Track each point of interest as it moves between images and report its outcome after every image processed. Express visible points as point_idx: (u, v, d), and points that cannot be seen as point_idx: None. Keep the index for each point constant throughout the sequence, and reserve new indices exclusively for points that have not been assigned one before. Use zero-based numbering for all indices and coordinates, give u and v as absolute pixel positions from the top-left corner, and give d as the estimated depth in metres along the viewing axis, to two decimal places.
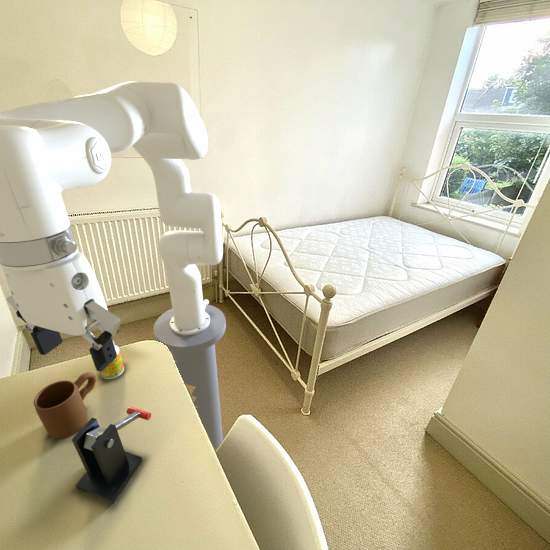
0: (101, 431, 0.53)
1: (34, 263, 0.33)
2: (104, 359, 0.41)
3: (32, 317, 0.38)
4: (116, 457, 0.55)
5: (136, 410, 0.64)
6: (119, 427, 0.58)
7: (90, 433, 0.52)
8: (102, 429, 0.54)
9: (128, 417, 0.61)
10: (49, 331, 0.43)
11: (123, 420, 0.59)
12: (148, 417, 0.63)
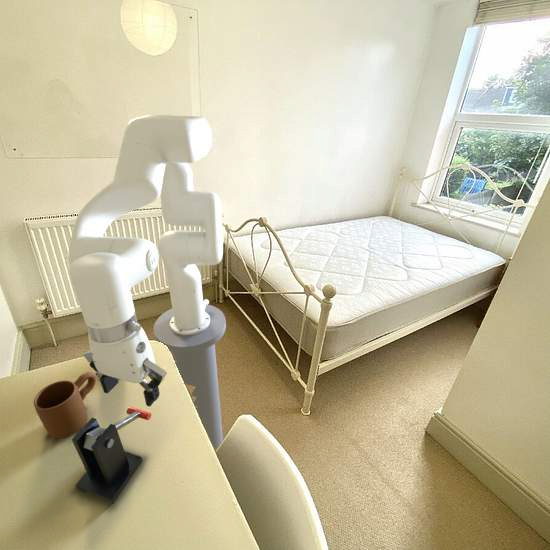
0: (101, 431, 0.53)
1: (115, 340, 0.50)
2: (152, 398, 0.57)
3: (104, 370, 0.55)
4: (116, 457, 0.55)
5: (136, 410, 0.64)
6: (119, 427, 0.58)
7: (90, 433, 0.52)
8: (102, 429, 0.54)
9: (128, 417, 0.61)
10: (111, 376, 0.60)
11: (123, 420, 0.59)
12: (148, 417, 0.63)
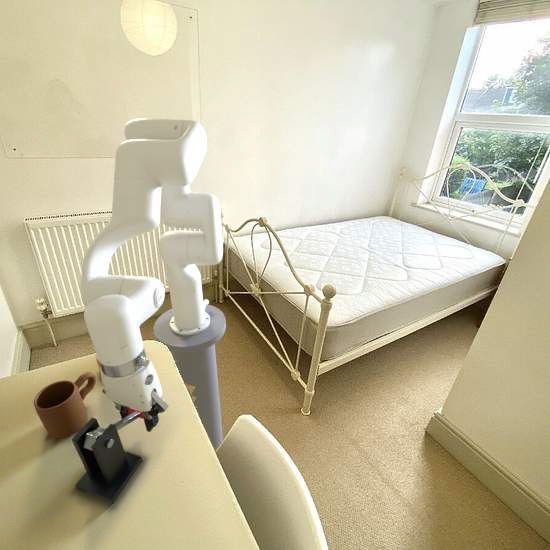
0: (101, 431, 0.53)
1: (125, 375, 0.54)
2: (152, 424, 0.63)
3: (115, 399, 0.59)
4: (116, 457, 0.55)
5: (136, 410, 0.64)
6: (119, 427, 0.58)
7: (90, 433, 0.52)
8: (102, 429, 0.54)
9: (128, 417, 0.61)
10: None
11: (123, 420, 0.59)
12: None
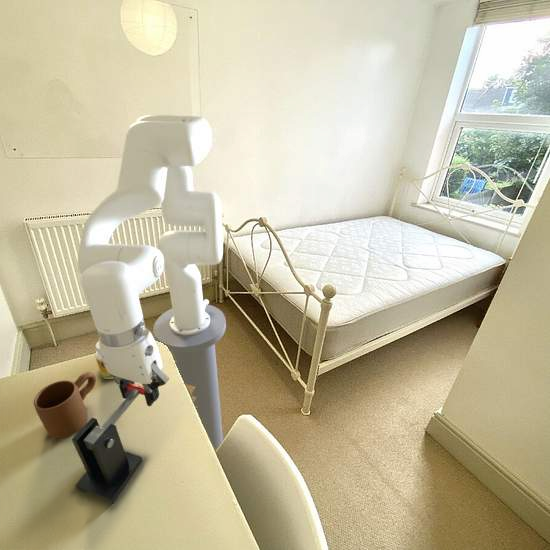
0: (98, 433, 0.53)
1: (124, 344, 0.52)
2: (153, 398, 0.61)
3: (114, 371, 0.58)
4: (116, 457, 0.55)
5: (135, 388, 0.62)
6: (119, 416, 0.57)
7: (87, 438, 0.52)
8: (99, 429, 0.53)
9: (127, 400, 0.59)
10: (129, 382, 0.63)
11: (122, 406, 0.58)
12: None
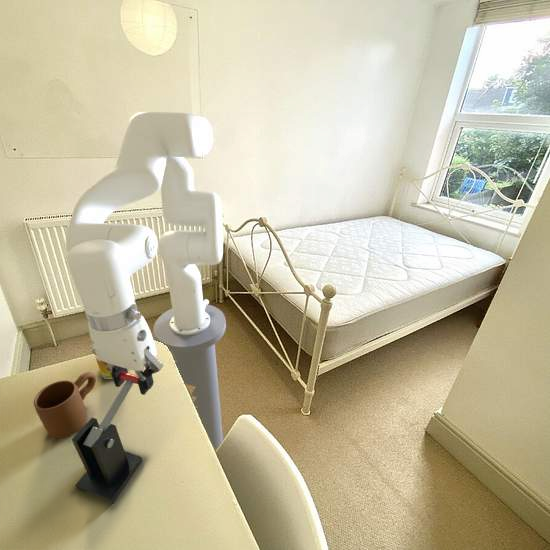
0: (96, 435, 0.52)
1: (115, 328, 0.49)
2: (146, 386, 0.59)
3: (106, 358, 0.55)
4: (116, 457, 0.55)
5: (127, 378, 0.59)
6: (115, 411, 0.56)
7: (86, 442, 0.52)
8: (96, 431, 0.53)
9: (121, 393, 0.57)
10: (122, 370, 0.60)
11: (117, 401, 0.57)
12: None
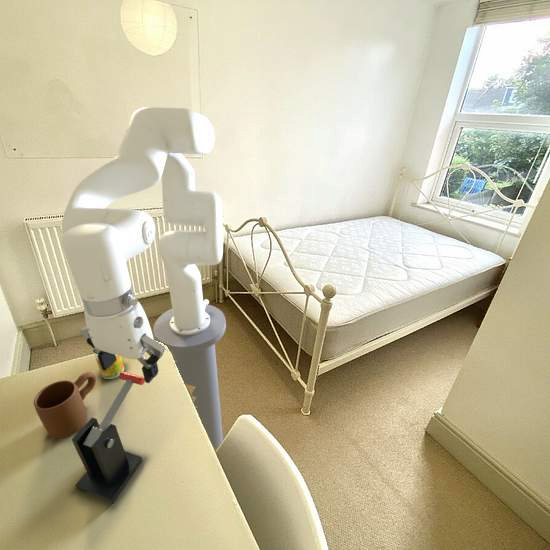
0: (96, 435, 0.52)
1: (111, 313, 0.48)
2: (151, 374, 0.56)
3: (102, 346, 0.54)
4: (116, 457, 0.55)
5: (127, 378, 0.59)
6: (115, 411, 0.56)
7: (86, 442, 0.52)
8: (96, 431, 0.53)
9: (121, 393, 0.57)
10: (109, 353, 0.59)
11: (116, 401, 0.56)
12: (142, 382, 0.59)
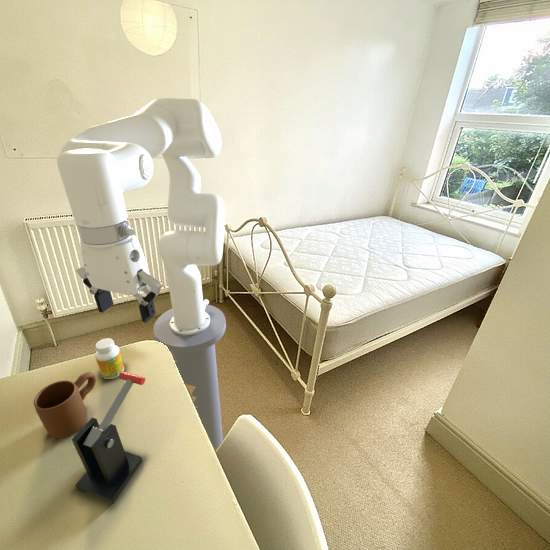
0: (96, 435, 0.52)
1: (107, 242, 0.48)
2: (148, 313, 0.56)
3: (98, 282, 0.54)
4: (116, 457, 0.55)
5: (127, 378, 0.59)
6: (115, 411, 0.56)
7: (86, 442, 0.52)
8: (96, 431, 0.53)
9: (121, 393, 0.57)
10: (105, 295, 0.59)
11: (116, 401, 0.56)
12: (142, 382, 0.59)
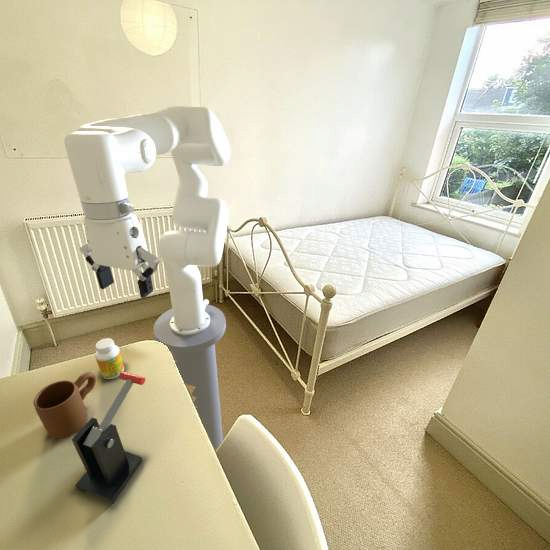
0: (96, 435, 0.52)
1: (109, 218, 0.52)
2: (146, 289, 0.60)
3: (100, 258, 0.58)
4: (116, 457, 0.55)
5: (127, 378, 0.59)
6: (115, 411, 0.56)
7: (86, 442, 0.52)
8: (96, 431, 0.53)
9: (121, 393, 0.57)
10: (106, 272, 0.63)
11: (116, 401, 0.56)
12: (142, 382, 0.59)
